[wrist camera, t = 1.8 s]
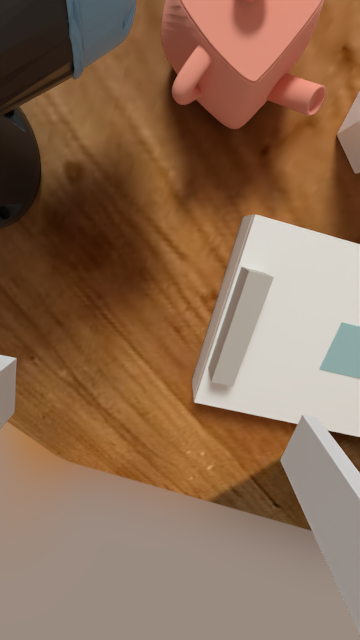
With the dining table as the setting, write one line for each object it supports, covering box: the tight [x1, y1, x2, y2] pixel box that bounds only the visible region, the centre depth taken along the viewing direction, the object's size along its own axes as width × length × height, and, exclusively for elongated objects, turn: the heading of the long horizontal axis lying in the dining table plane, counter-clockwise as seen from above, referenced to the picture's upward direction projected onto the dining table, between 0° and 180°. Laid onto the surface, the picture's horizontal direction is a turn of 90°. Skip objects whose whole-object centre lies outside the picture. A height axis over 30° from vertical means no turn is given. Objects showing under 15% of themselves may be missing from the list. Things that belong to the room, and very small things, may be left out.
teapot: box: [161, 0, 326, 129], centre depth 21 cm, size 14×12×10 cm
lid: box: [194, 214, 360, 437], centre depth 29 cm, size 28×22×4 cm
